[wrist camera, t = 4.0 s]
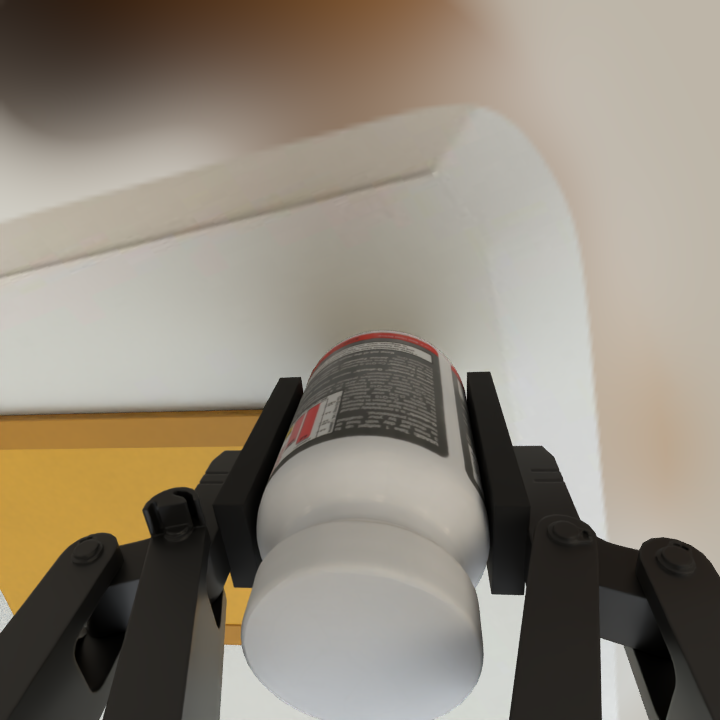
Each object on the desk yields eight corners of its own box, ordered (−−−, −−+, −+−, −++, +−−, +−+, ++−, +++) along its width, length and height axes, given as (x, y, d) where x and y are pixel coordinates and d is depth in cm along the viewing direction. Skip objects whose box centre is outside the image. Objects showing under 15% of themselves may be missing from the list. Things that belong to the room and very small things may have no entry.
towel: (-76, 416, 25) (-88, 423, 24) (322, 407, 22) (319, 414, 22) (29, 628, 31) (22, 637, 30) (351, 639, 28) (350, 649, 28)
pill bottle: (279, 401, 19) (156, 649, 10) (375, 291, 17) (326, 484, 8) (395, 485, 20) (377, 775, 11) (499, 393, 18) (581, 663, 9)
